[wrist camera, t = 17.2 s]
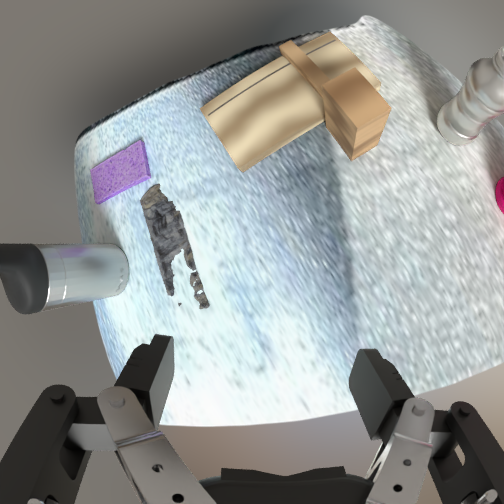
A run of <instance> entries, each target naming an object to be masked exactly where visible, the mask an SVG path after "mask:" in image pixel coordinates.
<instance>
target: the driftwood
mask: <svg viewBox="0 0 504 504" xmlns="http://www.w3.org/2000/svg"><path fill="white" fill-rule="evenodd" d="M159 188H160V184H158V185H155V186H153V187H152V188H151V189H150V190H148V191H147V193H145V195H144V196H143V197H142V199H141V201H140V202H141V205H142V208H143V212H144V216H145V219H146V223H147V226H148V229H149V232H150V236H151V240H152V243H153V246H154V252H155V255H156V258H157V262H158V265H159V269H160V271H161V275H162V278H163V281H164V284H165V287H166V290H167V293H168V295H170V296H173V295H174V286H173V276H174V275H173V272H172V269H171V262H172V260H174V256H175V255H177V254H179V253H180V252H181V249H182V248H183V249H184V257H185V260H186V263H187V265H188V267H189V268H190V269H192V270H193V271H194V270H196V267H195V263H194V260H193V254H192V250H191V248H190V245H189V242H188V238H187V234H186V231H185V228H184V225H183V220H182V218H181V214H180V211H176V209H175V207H176V206H174V204H173V201H170V202H168V199H167V197H166V196H164V194H163V193H161V190H160V189H159ZM170 270H171V271H170ZM196 279H197V280H196ZM195 281H196V283H195V286H193V283H194V282H195ZM190 284H191V286H192V287H193V288H194V290H195V293H194V294H195V295H194V297H195V299H196V300H197V301H199V303H200V309H203V308H208V307H209V303H208V300H207V298H206V295H205V293H204V291H203V292H202V293H201V294H200V295H199V294H197V292H198V291H199V290H203V286H202V283H201V281H200V279H199V275H198V273H197V271H196V272H194V273H191V276H190ZM178 305H179V306H180V305H181V303H178Z"/></svg>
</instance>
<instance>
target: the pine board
mask: <svg viewBox="0 0 504 504" xmlns="http://www.w3.org/2000/svg"><path fill="white" fill-rule="evenodd" d="M299 48H300V49H301V50H302V51H303V52H304V53H305V54H306V55H307V56H308V57H309V58H310V59H311V60H312V61H313V62H314V63H315V64H316V65H317V66H318V67H319V68H320V69H321V71H322V72H323V73H324V74H325V75H326V76H327V77H328V78H329V79H330V80H332V79H334V78H336V77H337V76H339V75H341V74H343V73H345V72H347V71H349V70H351V69H352V68H354V67H355V68H356V69H357V70H358V71H359V72H360V73H361V74H362V75H363V76H364V77H365V78H366V79H367V80H368V82H369V83H370V84H371V85H372V86H373V87H374V88H375V89H376V90H377V91H379V90H380V86H381V82H380V81H379V80H378V79H377V77H376V76H375V75H374V74H373V73H372V72H371V71H370V70H369V69H368V68H367V67H366V66H365V65H364V64H363V63H362V62H361V61H360V59H359V58H358V57H357V56H356V55H355V54H354V53H353V52H351V51H350V50H349V49H348V48H347V47H346V46H345V45H344V44H343V43H342V42H341V41H340V40H339V39H338V38H337V37H336V36H335V35H333V34H332V33H331V32H328V33H326V34H324V35H321V36H319V37H317V38H315V39H313V40H311V41H309V42H307V43H305V44H303V45H301V46H300V47H299ZM200 110H201V112H202V113H203V115H204V116H205V118H206V119H207V121H208V122H209V124H210V125H211V127H212V128H213V130H214V132H215V133H216V135H217V136H218V138H219V139H220V141H221V142H222V144H223V146H224V147H225V149H226V150H227V152H228V153H229V155H230V157H231V158H232V160H233V161H234V163H235V164H236V166H237V168H238V169H239V170H240V171H242V172H245V171H246V170H248V169H249V168H251V167H252V166H254V165H255V164H257V163H258V162H260V161H261V160H263V159H264V158H266V157H267V156H269V155H270V154H272V153H273V152H275V151H277V150H278V149H280V148H281V147H283V146H284V145H286V144H288V143H289V142H291V141H292V140H294V139H296V138H297V137H299V136H300V135H302V134H304V133H305V132H307V131H309V130H310V129H312V128H314V127H315V126H317V125H319V124H320V123H322V122H324V121H325V110H324V101H323V99H322V97H321V96H320V95H319V94H318V93H317V92H316V91H315V89H314V88H313V87H312V86H311V85H310V84H309V83H308V82H307V80H306V79H305V78H304V77H303V76H302V75H301V74H300V73H299V72H298V71H297V70H296V68H295V67H294V66H293V65H292V64H291V63H290V62H289V61H288V60H287V59H286V58H285V57H284V56H281V57H279V58H278V59H276V60H274V61H272V62H271V63H269V64H267V65H265V66H264V67H262V68H260V69H259V70H257V71H255V72H254V73H252V74H251V75H249V76H247V77H246V78H244V79H243V80H241V81H239V82H238V83H236V84H235V85H233V86H232V87H230V88H229V89H227V90H226V91H224V92H223V93H221V94H220V95H218V96H217V97H215V98H214V99H213V100H211V101H210V102H208V103H207V104H206V105H204V106H203V107H201V108H200Z"/></svg>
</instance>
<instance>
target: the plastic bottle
mask: <svg viewBox="0 0 504 504" xmlns="http://www.w3.org/2000/svg"><path fill="white" fill-rule="evenodd" d="M502 114H504V46H502V47H501V48H499V50H498V51H497V52H496V53H495V54H494V56H493V57H492V58H482V59H479V60H477V61H475V62H474V63H473V64H472V65H471V67H470V69H469V72H468V74H467V77H466V79H465V82H464V84H463V86H462V87H461V89H460V91H459V92H458V94H457V95H456V96H455V97H454V98H453V99H452V100H450V101H449V102H447V103H446V104H445V105H443V106H442V108H441V109H440V111H439V113H438V117H437V126H438V129H439V132H440V133H441V135H442V136H443V137H444V139H446V140H447V141H448V142H449V143H451V144H453V145H456V146H465V145H468V144H470V143H472V142H473V141H475V139H476V138H477V137H478V135H479V133H480V131H481V130H482V129H483V128H484V127H485V126H486V124H488V123H489V122H490V121H492V120H493V119H495V118H496V117H498V116H500V115H502Z"/></svg>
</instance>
